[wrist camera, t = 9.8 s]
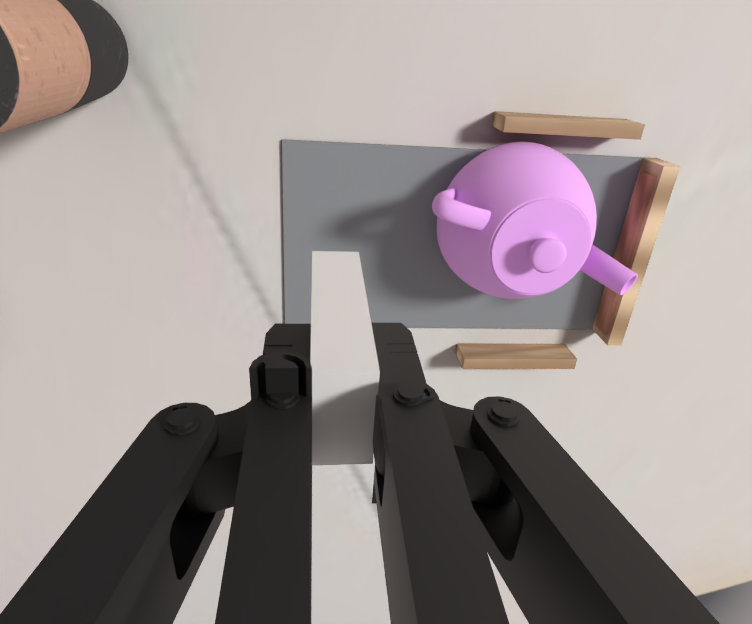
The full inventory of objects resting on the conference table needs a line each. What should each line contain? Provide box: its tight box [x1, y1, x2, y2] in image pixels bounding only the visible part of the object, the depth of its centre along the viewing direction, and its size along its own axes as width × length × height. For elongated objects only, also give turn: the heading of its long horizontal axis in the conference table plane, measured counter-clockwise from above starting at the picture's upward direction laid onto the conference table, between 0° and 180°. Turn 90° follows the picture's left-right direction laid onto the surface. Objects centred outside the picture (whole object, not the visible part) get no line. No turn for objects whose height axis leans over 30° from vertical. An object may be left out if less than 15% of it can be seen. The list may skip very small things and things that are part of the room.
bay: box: [456, 112, 680, 369], centre depth 50 cm, size 24×16×4 cm, turn 177°
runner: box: [282, 140, 643, 329], centre depth 51 cm, size 18×34×1 cm, turn 87°
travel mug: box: [0, 0, 128, 133], centre depth 31 cm, size 8×8×20 cm
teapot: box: [432, 142, 638, 299], centre depth 45 cm, size 14×20×11 cm
